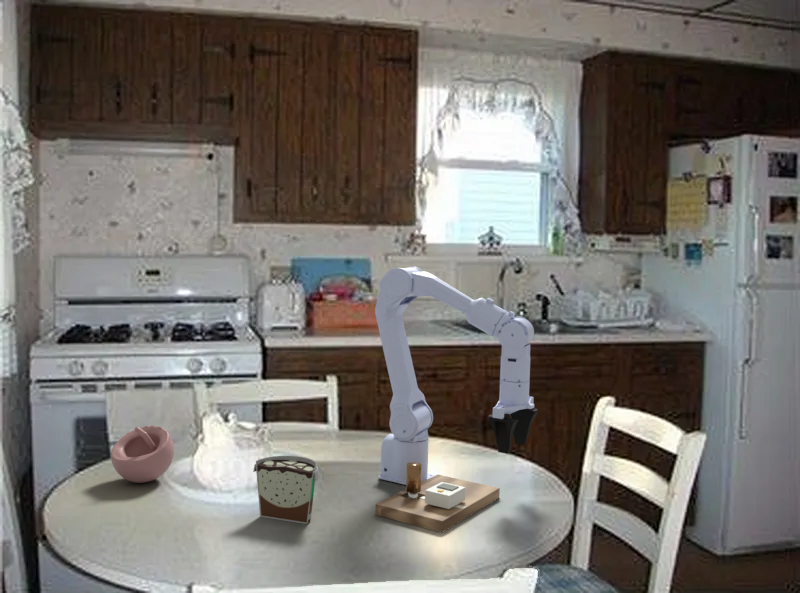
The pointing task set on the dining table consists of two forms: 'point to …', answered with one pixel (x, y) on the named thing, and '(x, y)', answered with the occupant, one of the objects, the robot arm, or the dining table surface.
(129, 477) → the mortar and pestle
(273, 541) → the dining table surface
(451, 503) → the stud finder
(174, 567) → the dining table surface
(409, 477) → the brown translucent cylinder
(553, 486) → the dining table surface
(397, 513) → the board
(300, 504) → the food container
